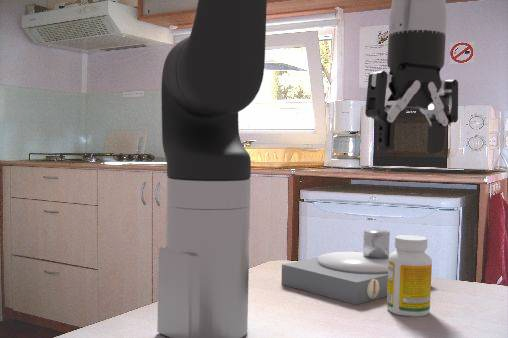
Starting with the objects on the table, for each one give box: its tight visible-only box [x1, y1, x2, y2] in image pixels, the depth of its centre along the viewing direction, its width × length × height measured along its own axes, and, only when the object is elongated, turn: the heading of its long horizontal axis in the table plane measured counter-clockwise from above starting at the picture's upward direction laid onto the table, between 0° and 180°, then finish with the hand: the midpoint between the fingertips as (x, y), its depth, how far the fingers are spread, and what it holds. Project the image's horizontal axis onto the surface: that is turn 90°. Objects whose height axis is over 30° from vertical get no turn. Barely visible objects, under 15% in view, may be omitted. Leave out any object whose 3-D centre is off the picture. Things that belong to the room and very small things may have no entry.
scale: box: [281, 250, 389, 306], centre depth 87 cm, size 18×14×4 cm
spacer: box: [362, 229, 391, 259], centre depth 91 cm, size 4×4×4 cm
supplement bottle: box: [386, 234, 433, 318], centre depth 74 cm, size 5×5×10 cm
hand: (410, 152), depth 79 cm, fingers open, 8 cm apart
